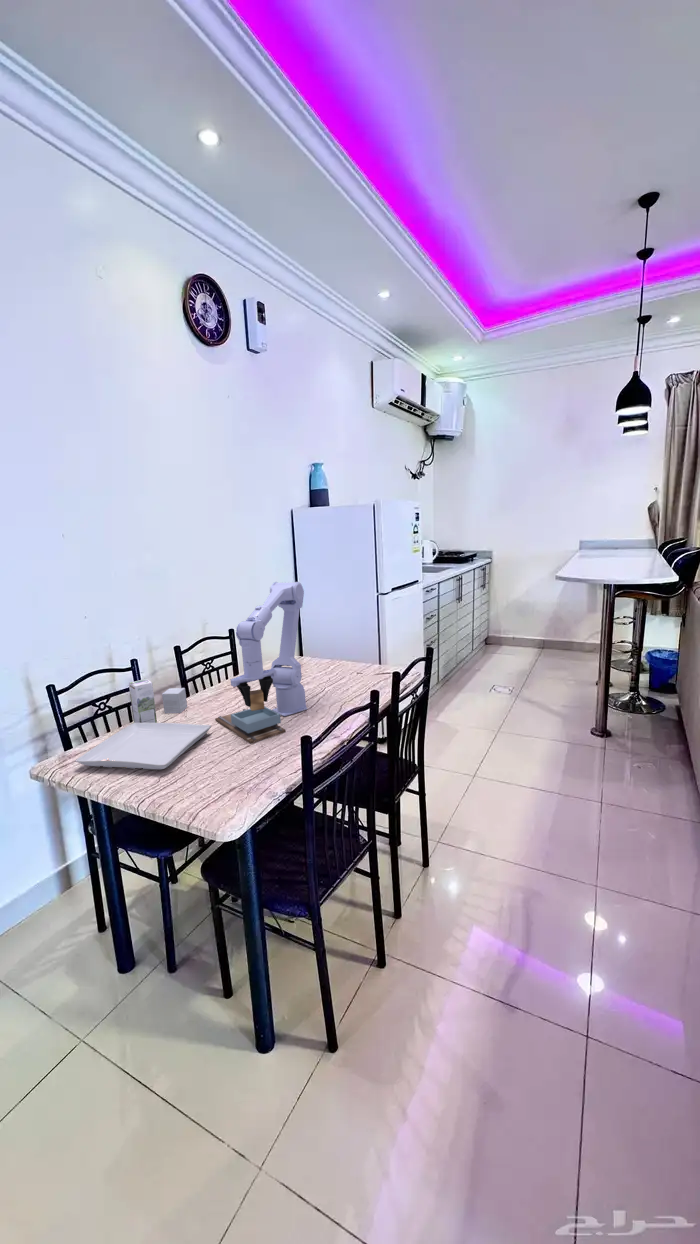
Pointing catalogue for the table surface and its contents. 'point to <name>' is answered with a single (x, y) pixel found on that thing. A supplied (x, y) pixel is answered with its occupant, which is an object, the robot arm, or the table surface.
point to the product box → (174, 700)
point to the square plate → (145, 745)
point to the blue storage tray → (255, 719)
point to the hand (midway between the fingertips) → (256, 703)
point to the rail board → (254, 735)
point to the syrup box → (142, 701)
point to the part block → (256, 700)
